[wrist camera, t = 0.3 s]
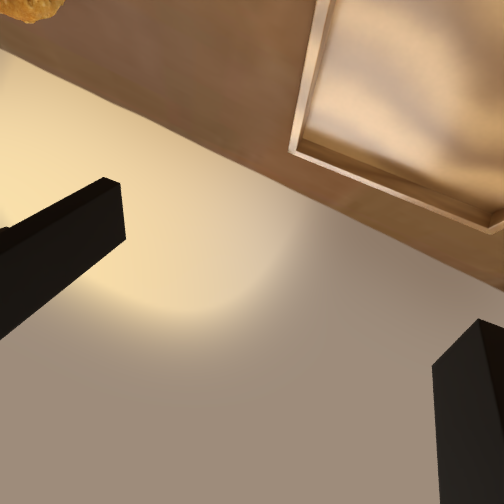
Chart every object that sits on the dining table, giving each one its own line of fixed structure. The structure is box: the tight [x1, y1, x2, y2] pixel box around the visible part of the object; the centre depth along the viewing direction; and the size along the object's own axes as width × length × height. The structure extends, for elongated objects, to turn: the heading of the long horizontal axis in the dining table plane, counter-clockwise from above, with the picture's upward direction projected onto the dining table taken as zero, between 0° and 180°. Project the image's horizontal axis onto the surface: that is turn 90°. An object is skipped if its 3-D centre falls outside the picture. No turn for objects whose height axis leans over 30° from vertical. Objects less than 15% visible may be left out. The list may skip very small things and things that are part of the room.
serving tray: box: [288, 0, 504, 235], centre depth 17 cm, size 28×20×2 cm
